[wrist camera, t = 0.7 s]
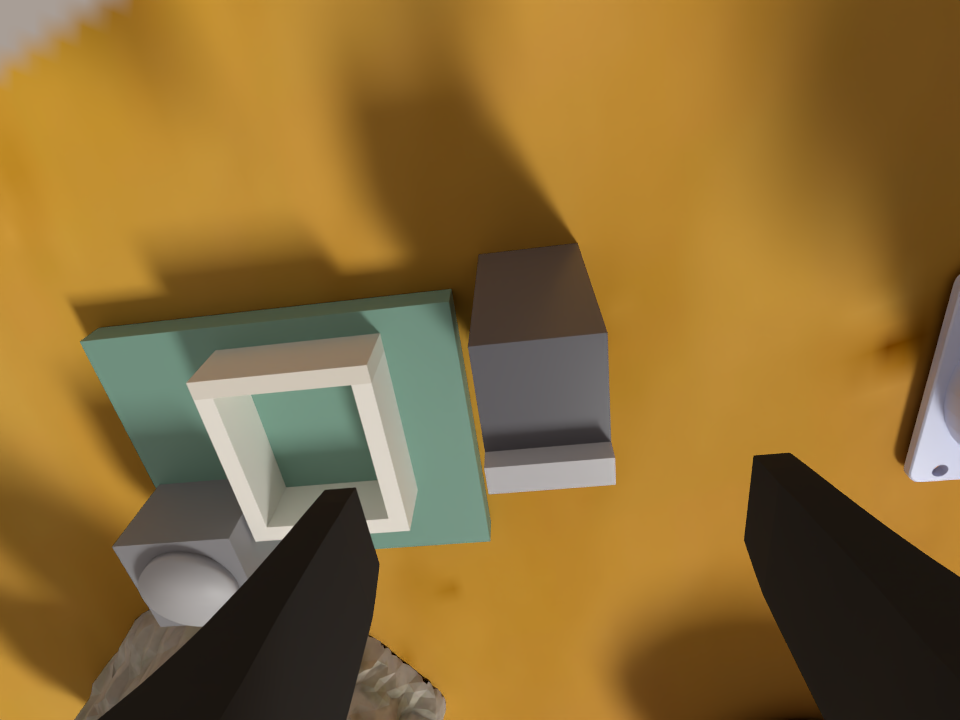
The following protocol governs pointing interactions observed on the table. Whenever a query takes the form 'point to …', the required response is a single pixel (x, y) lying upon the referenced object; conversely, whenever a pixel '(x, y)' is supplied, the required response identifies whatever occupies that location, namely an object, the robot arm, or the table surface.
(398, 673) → the grey jagged lump
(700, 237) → the table surface
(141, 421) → the board
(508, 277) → the plug
